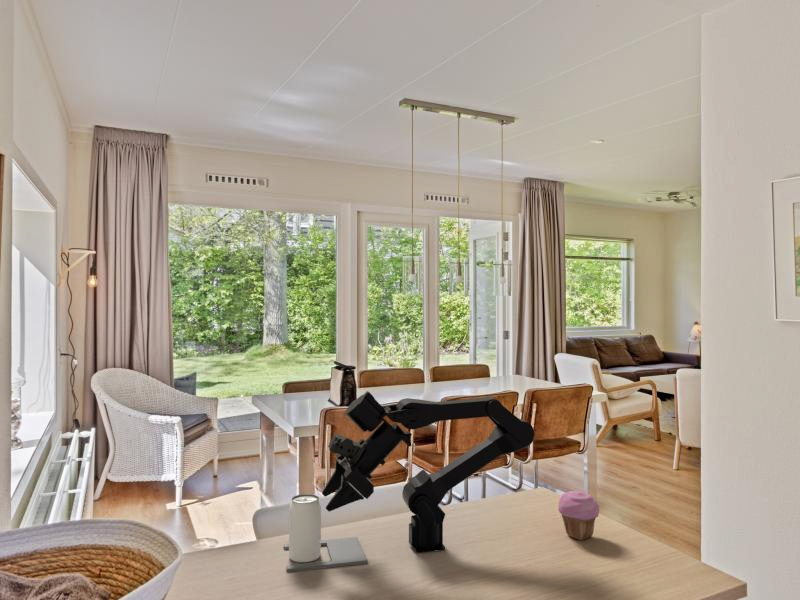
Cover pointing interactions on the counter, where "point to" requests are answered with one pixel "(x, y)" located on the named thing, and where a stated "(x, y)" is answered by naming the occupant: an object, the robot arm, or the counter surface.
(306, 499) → the can
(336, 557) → the board
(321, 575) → the counter surface
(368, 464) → the robot arm
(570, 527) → the cupcake
